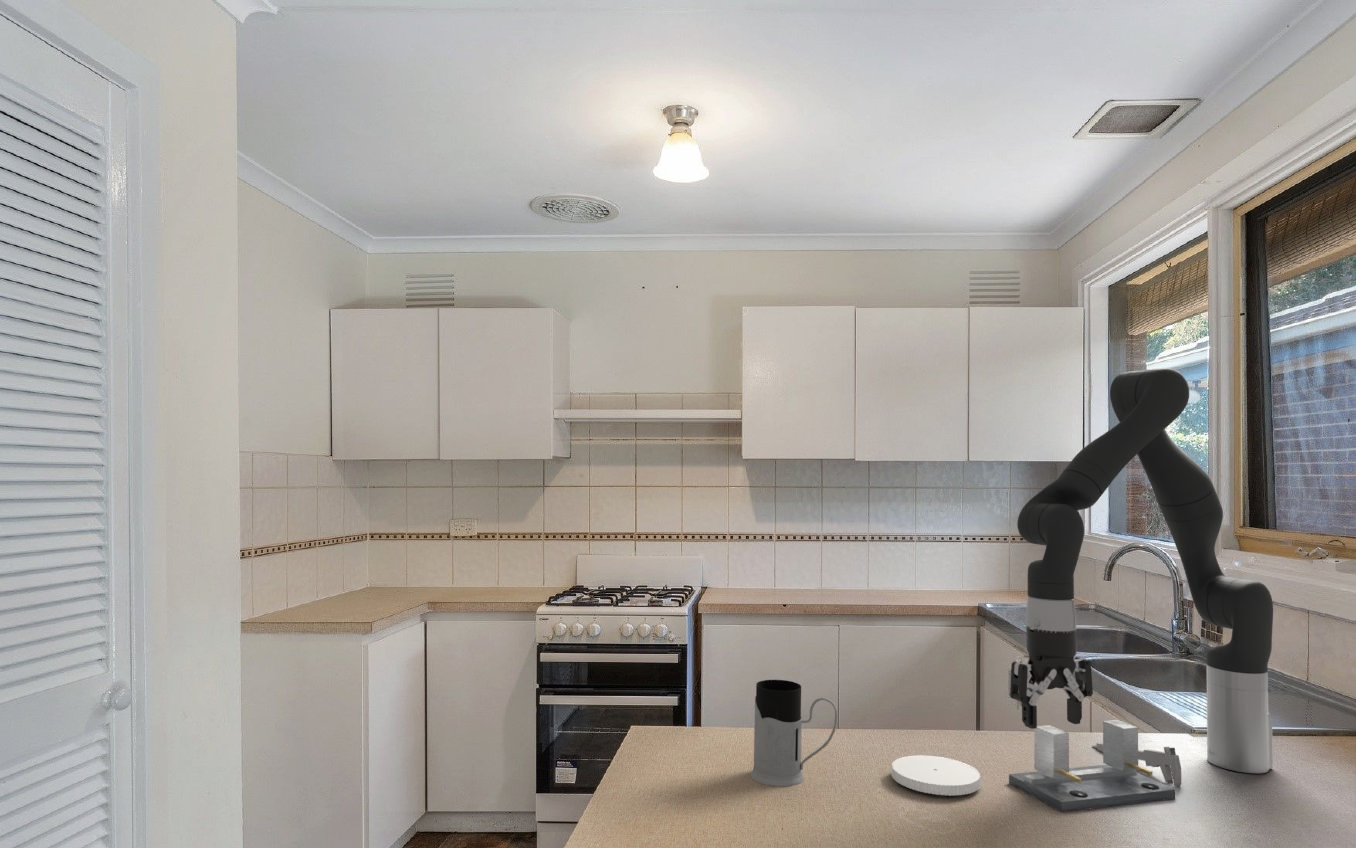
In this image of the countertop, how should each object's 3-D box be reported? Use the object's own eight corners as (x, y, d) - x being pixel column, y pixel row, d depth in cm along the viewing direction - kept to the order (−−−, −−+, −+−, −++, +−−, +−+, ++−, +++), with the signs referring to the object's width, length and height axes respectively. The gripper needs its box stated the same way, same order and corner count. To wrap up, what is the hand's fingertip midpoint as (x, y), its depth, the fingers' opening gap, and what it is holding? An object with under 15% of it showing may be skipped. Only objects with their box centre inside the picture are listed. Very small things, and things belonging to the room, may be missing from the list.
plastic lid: (913, 803, 131) (913, 787, 131) (878, 771, 145) (878, 756, 145) (997, 800, 133) (997, 784, 133) (955, 768, 147) (955, 754, 147)
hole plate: (1116, 772, 146) (1116, 759, 146) (1175, 799, 134) (1175, 784, 134) (1008, 783, 139) (1009, 769, 140) (1061, 812, 128) (1061, 796, 128)
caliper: (1182, 788, 140) (1181, 750, 140) (1176, 789, 140) (1176, 750, 140) (1096, 748, 160) (1096, 714, 160) (1091, 748, 159) (1091, 714, 160)
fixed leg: (1117, 761, 144) (1117, 719, 144) (1158, 779, 136) (1158, 735, 136) (1103, 762, 143) (1103, 720, 143) (1143, 780, 135) (1143, 736, 135)
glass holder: (758, 764, 146) (759, 676, 147) (840, 776, 141) (841, 685, 142) (744, 781, 138) (746, 688, 138) (832, 794, 133) (833, 698, 134)
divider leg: (1049, 768, 140) (1049, 725, 140) (1087, 786, 132) (1087, 741, 132) (1034, 769, 139) (1034, 726, 139) (1071, 788, 131) (1071, 742, 131)
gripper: (1069, 619, 144) (1071, 715, 143) (999, 622, 140) (1000, 721, 139) (1103, 627, 137) (1105, 728, 136) (1030, 631, 133) (1031, 736, 132)
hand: (1052, 725), depth 138 cm, fingers open, 8 cm apart
